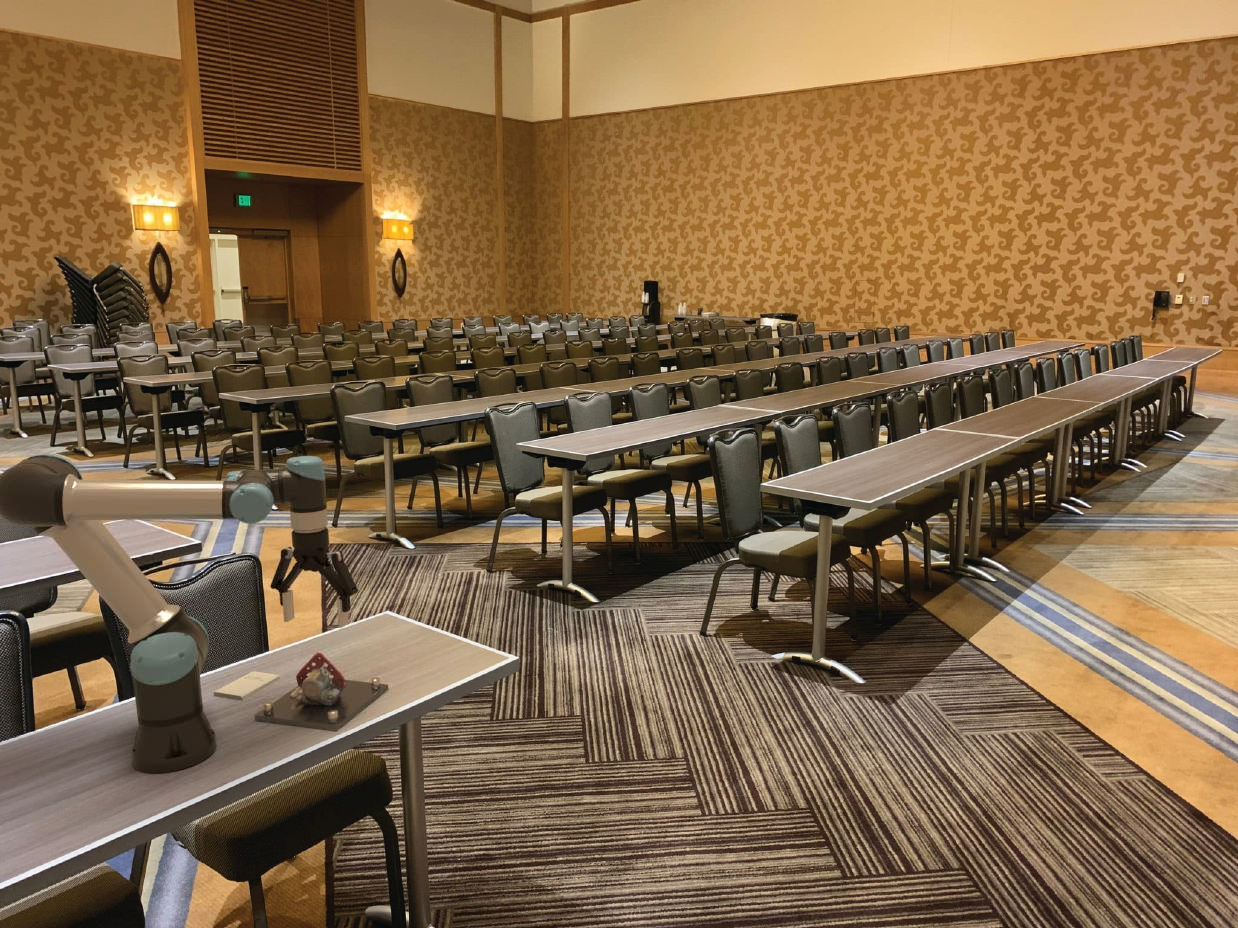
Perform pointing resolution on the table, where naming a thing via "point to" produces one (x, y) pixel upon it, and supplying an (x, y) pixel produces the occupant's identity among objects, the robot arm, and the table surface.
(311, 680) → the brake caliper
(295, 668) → the table surface
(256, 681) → the light wooden board
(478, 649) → the table surface
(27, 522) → the robot arm
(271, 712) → the mounting plate
